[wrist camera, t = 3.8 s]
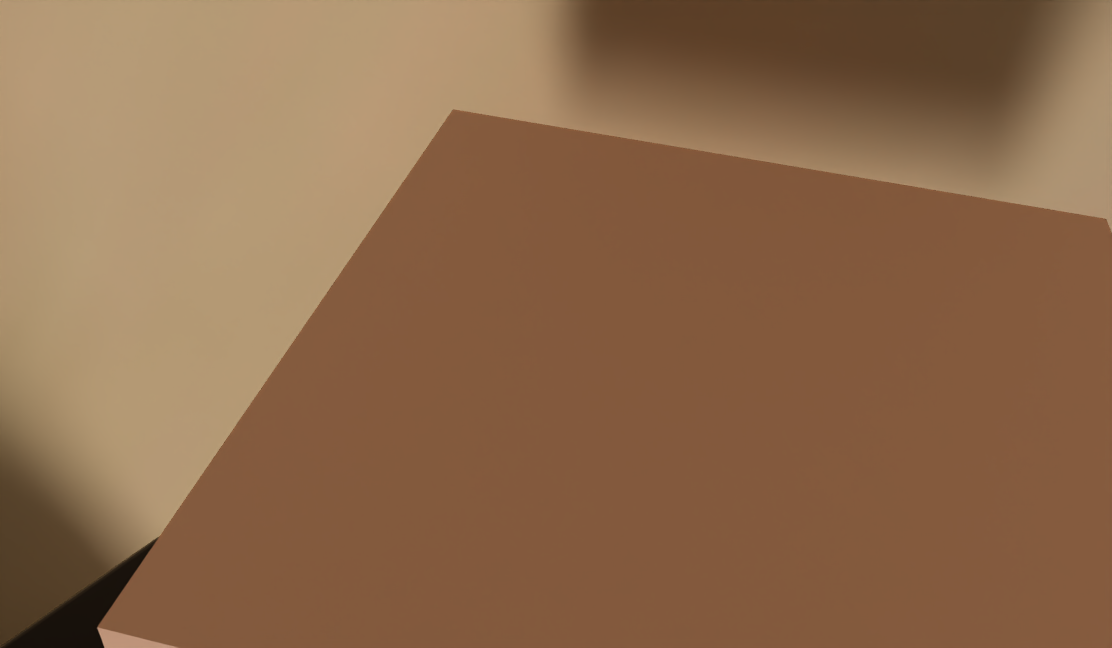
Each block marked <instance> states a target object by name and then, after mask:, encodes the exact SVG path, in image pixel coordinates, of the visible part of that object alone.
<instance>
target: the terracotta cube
mask: <svg viewBox="0 0 1112 648" xmlns="http://www.w3.org/2000/svg"><path fill="white" fill-rule="evenodd" d="M97 628H98V631H99V634H100V637H101V639H102V642H103V645H104V648H1112V233H1111V230H1110V228H1109V225H1108V223H1107V220H1106V219H1103V218H1097V217H1091V216H1085V215H1079V214H1073V213H1067V212H1061V211H1055V210H1050V209H1044V208H1038V207H1032V206H1026V205H1020V204H1014V203H1008V202H1002V201H996V200H990V199H984V198H978V197H972V196H966V195H960V194H954V193H948V192H942V191H936V190H930V189H924V188H918V187H912V186H906V185H900V184H894V183H889V182H883V181H877V180H871V179H865V178H859V177H853V176H847V175H841V174H835V173H829V172H823V171H817V170H811V169H805V168H799V167H793V166H787V165H781V164H775V163H769V162H763V161H757V160H751V159H745V158H739V157H733V156H728V155H722V154H716V153H710V152H704V151H698V150H692V149H686V148H680V147H674V146H668V145H662V144H656V143H650V142H644V141H638V140H632V139H626V138H620V137H614V136H608V135H602V134H596V133H590V132H584V131H578V130H573V129H567V128H561V127H555V126H549V125H543V124H537V123H531V122H525V121H519V120H513V119H507V118H501V117H495V116H489V115H483V114H477V113H471V112H465V111H459V110H452V112H451V113H450V115H449V116H448V118H447V119H446V121H445V122H444V123H443V125H442V126H441V128H440V129H439V131H438V132H437V134H436V135H435V137H434V138H433V139H432V141H431V142H430V144H429V145H428V147H427V148H426V150H425V151H424V153H423V154H422V155H421V157H420V158H419V160H418V161H417V163H416V164H415V166H414V167H413V169H412V170H411V171H410V173H409V174H408V176H407V177H406V179H405V180H404V182H403V183H402V185H401V186H400V187H399V189H398V190H397V192H396V193H395V195H394V196H393V198H392V199H391V201H390V202H389V203H388V205H387V206H386V208H385V209H384V211H383V212H382V214H381V215H380V217H379V218H378V219H377V221H376V222H375V224H374V225H373V227H372V228H371V230H370V231H369V233H368V234H367V235H366V237H365V238H364V240H363V241H362V243H361V244H360V246H359V247H358V249H357V250H356V251H355V253H354V254H353V256H352V257H351V259H350V260H349V262H348V263H347V265H346V266H345V267H344V269H343V270H342V272H341V273H340V275H339V276H338V278H337V279H336V281H335V282H334V283H333V285H332V286H331V288H330V289H329V291H328V292H327V294H326V295H325V297H324V298H323V300H322V301H321V302H320V304H319V305H318V307H317V308H316V310H315V311H314V313H313V314H312V316H311V317H310V318H309V320H308V321H307V323H306V324H305V326H304V327H303V329H302V330H301V332H300V333H299V334H298V336H297V337H296V339H295V340H294V342H293V343H292V345H291V346H290V348H289V349H288V350H287V352H286V353H285V355H284V356H283V358H282V359H281V361H280V362H279V364H278V365H277V366H276V368H275V369H274V371H273V372H272V374H271V375H270V377H269V378H268V380H267V381H266V382H265V384H264V385H263V387H262V388H261V390H260V391H259V393H258V394H257V396H256V397H255V398H254V400H253V401H252V403H251V404H250V406H249V407H248V409H247V410H246V412H245V413H244V414H243V416H242V417H241V419H240V420H239V422H238V423H237V425H236V426H235V428H234V429H233V430H232V432H231V433H230V435H229V436H228V438H227V439H226V441H225V442H224V444H223V445H222V446H221V448H220V449H219V451H218V452H217V454H216V455H215V457H214V458H213V460H212V461H211V462H210V464H209V465H208V467H207V468H206V470H205V471H204V473H203V474H202V476H201V477H200V478H199V480H198V481H197V483H196V484H195V486H194V487H193V489H192V490H191V492H190V493H189V494H188V496H187V497H186V499H185V500H184V502H183V503H182V505H181V506H180V508H179V509H178V510H177V512H176V513H175V515H174V516H173V518H172V519H171V521H170V522H169V524H168V525H167V527H166V528H165V529H164V531H163V532H162V534H161V535H160V537H159V538H158V540H157V541H156V543H155V544H154V545H153V547H152V548H151V550H150V551H149V553H148V554H147V556H146V557H145V559H144V560H143V561H142V563H141V564H140V566H139V567H138V569H137V570H136V572H135V573H134V575H133V576H132V577H131V579H130V580H129V582H128V583H127V585H126V586H125V588H124V589H123V591H122V592H121V593H120V595H119V596H118V598H117V599H116V601H115V602H114V604H113V605H112V607H111V608H110V609H109V611H108V612H107V614H106V615H105V617H104V618H103V620H102V621H101V623H100V624H99V625H98V627H97Z"/></svg>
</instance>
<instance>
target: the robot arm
mask: <svg viewBox="0 0 1112 648" xmlns="http://www.w3.org/2000/svg"><path fill="white" fill-rule="evenodd" d="M159 537H160V536H159ZM159 537H157V538H156V539H155V540H153V541H152V542H150V543H149V544H147V545H146V546H145V547H143V548H142V549H140V550H139V551H137V552H136V553H134V554H133V555H132V556H130V557H129V558H127V559H126V560H124V561H123V562H121V563H120V564H119V565H117V566H116V567H114V568H113V569H111V570H110V571H109V572H107V573H106V574H104V575H103V576H101V577H100V578H98V579H97V580H96V581H94V582H93V583H91V584H90V585H88V586H87V587H85V588H84V589H83V590H81V591H80V592H78V593H77V594H75V595H74V596H72V597H71V598H70V599H68V600H67V601H65V602H64V603H62V604H61V605H60V606H58V607H57V608H55V609H54V610H52V611H51V612H49V613H48V614H47V615H45V616H44V617H42V618H41V619H39V620H38V621H36V622H35V623H34V624H32V625H31V626H29V627H28V628H26V629H25V630H24V631H22V632H21V633H19V634H18V635H16V636H15V637H13V638H12V639H11V640H9V641H8V642H6V643H5V644H3V645H2V646H0V648H104V645H103V642H102V639H101V637H100V634H99V631H98V628H97V627H98V625H99V624H100V623H101V621H102V620H103V618H104V617H105V615H106V614H107V612H108V611H109V609H110V608H111V607H112V605H113V604H114V602H115V601H116V599H117V598H118V596H119V595H120V593H121V592H122V591H123V589H124V588H125V586H126V585H127V583H128V582H129V580H130V579H131V577H132V576H133V575H134V573H135V572H136V570H137V569H138V567H139V566H140V564H141V563H142V561H143V560H144V559H145V557H146V556H147V554H148V553H149V551H150V550H151V548H152V547H153V545H154V544H155V543H156V541H157V540H158V538H159Z"/></svg>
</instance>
